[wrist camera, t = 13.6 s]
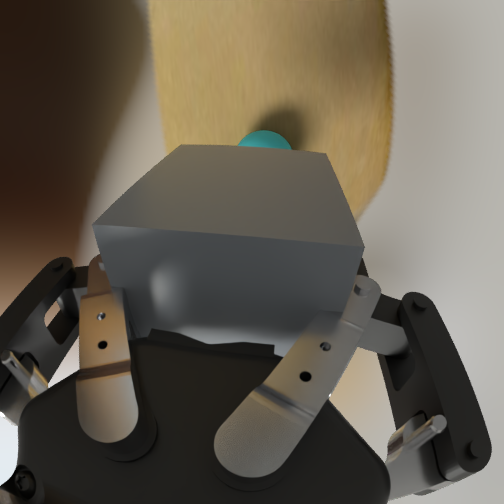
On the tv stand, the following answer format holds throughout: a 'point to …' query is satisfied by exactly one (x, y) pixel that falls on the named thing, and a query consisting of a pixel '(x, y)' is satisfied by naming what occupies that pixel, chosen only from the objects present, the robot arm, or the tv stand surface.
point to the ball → (265, 140)
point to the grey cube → (232, 244)
